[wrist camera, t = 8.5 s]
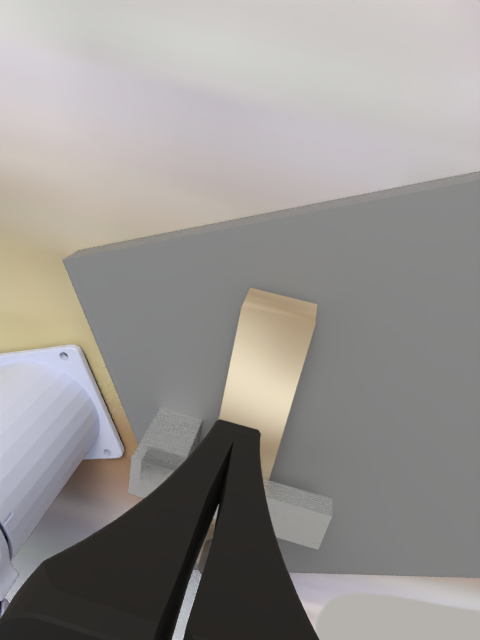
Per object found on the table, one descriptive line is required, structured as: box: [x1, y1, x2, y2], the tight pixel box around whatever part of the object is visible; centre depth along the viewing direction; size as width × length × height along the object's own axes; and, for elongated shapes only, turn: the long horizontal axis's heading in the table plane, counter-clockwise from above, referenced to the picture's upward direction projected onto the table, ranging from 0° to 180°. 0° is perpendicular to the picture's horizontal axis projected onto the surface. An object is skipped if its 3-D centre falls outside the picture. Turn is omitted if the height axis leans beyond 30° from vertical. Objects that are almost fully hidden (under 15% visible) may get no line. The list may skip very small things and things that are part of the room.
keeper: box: [128, 408, 332, 550], centre depth 23 cm, size 10×2×4 cm, turn 80°
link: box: [196, 288, 317, 574], centre depth 22 cm, size 17×4×3 cm, turn 170°
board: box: [62, 172, 480, 578], centre depth 23 cm, size 22×22×2 cm
